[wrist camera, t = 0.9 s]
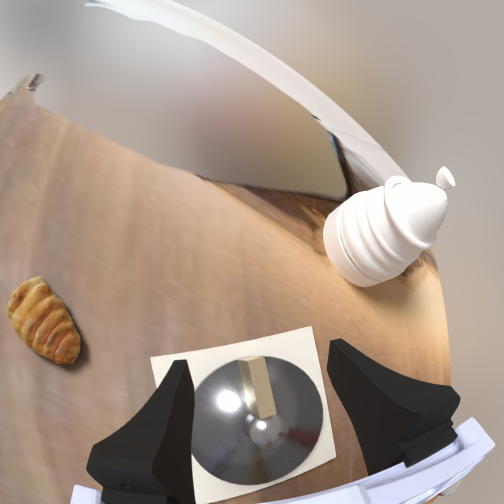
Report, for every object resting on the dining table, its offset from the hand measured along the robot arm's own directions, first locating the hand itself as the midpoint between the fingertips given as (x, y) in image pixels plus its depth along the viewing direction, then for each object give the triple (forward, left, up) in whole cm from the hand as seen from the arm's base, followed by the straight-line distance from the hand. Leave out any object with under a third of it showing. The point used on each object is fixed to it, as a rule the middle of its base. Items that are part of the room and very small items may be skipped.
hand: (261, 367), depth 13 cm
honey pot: (+10, -25, -16) cm, 32 cm away
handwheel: (-8, -3, -14) cm, 17 cm away
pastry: (+6, +17, -17) cm, 24 cm away
